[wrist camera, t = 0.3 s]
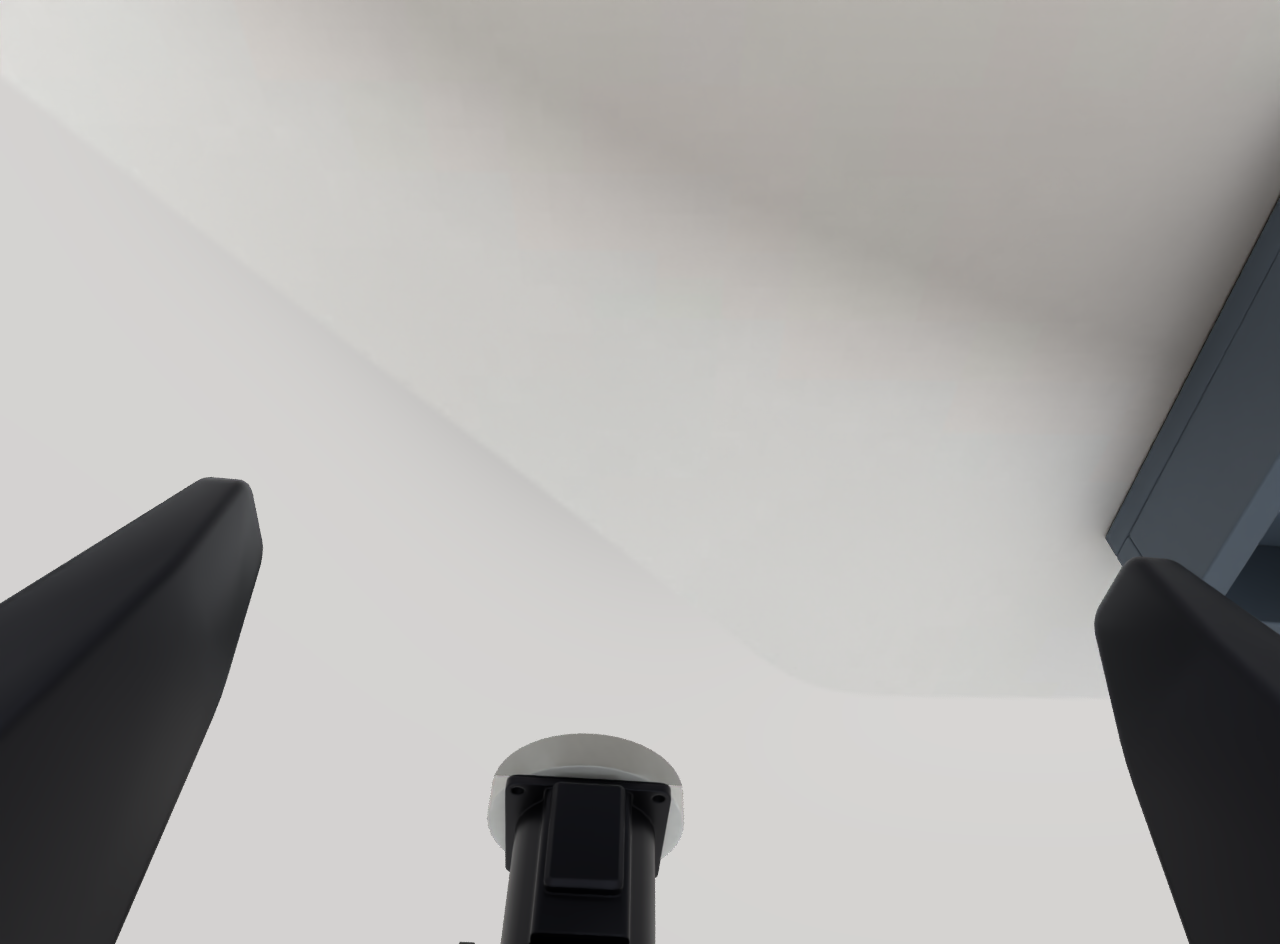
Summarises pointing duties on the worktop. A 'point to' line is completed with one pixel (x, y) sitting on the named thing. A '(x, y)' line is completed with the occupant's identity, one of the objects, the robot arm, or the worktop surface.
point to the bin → (1221, 453)
